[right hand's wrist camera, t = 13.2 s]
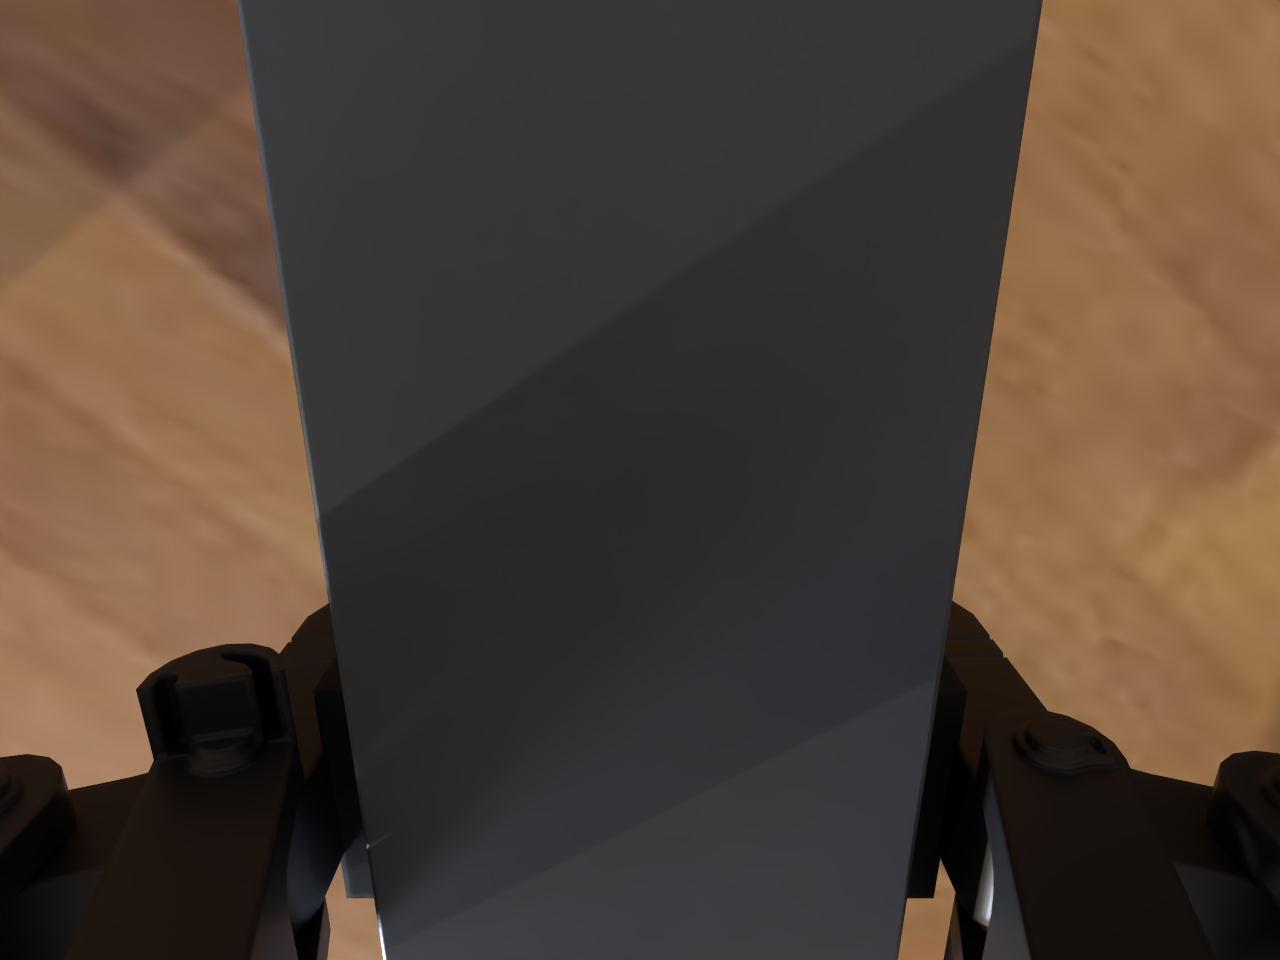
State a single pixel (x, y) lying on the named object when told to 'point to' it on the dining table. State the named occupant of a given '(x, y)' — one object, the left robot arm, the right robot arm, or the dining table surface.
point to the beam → (640, 444)
